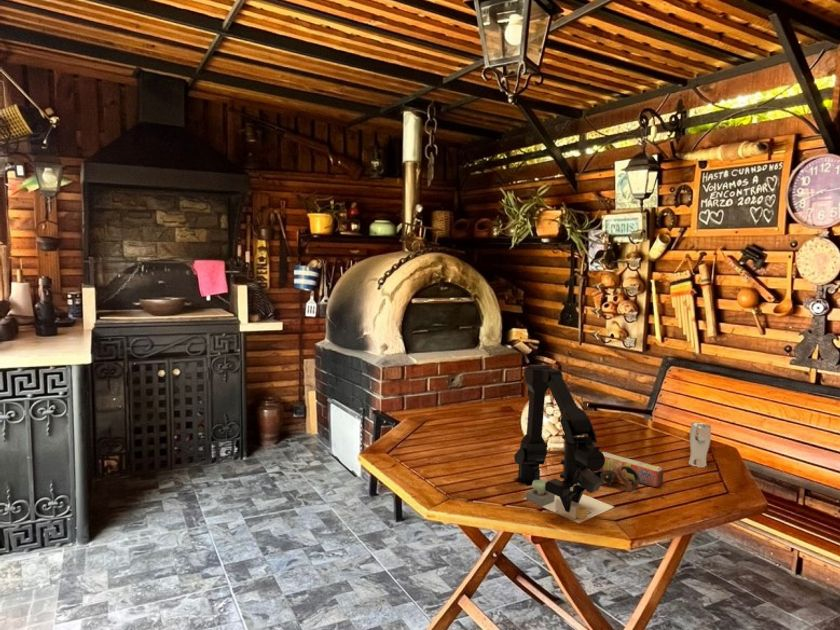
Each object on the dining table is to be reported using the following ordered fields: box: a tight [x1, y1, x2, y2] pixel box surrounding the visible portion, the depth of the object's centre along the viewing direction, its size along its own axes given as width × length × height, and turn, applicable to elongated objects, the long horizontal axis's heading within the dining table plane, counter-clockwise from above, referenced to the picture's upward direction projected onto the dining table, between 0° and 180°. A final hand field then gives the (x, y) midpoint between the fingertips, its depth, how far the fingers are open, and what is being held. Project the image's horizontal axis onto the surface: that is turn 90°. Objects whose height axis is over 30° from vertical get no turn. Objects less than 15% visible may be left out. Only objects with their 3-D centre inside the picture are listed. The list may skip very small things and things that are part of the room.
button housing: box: [525, 488, 555, 507], centre depth 178 cm, size 6×6×3 cm
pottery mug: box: [603, 466, 640, 493], centre depth 191 cm, size 12×10×8 cm
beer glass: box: [688, 422, 712, 468], centre depth 215 cm, size 7×7×15 cm
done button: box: [531, 479, 547, 496], centre depth 177 cm, size 5×5×4 cm
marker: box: [555, 498, 587, 520], centre depth 169 cm, size 9×3×3 cm, turn 39°
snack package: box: [598, 451, 664, 488], centre depth 200 cm, size 21×7×7 cm, turn 50°
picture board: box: [523, 493, 614, 524], centre depth 177 cm, size 20×18×1 cm
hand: (570, 510), depth 170 cm, fingers closed on marker, 3 cm apart
